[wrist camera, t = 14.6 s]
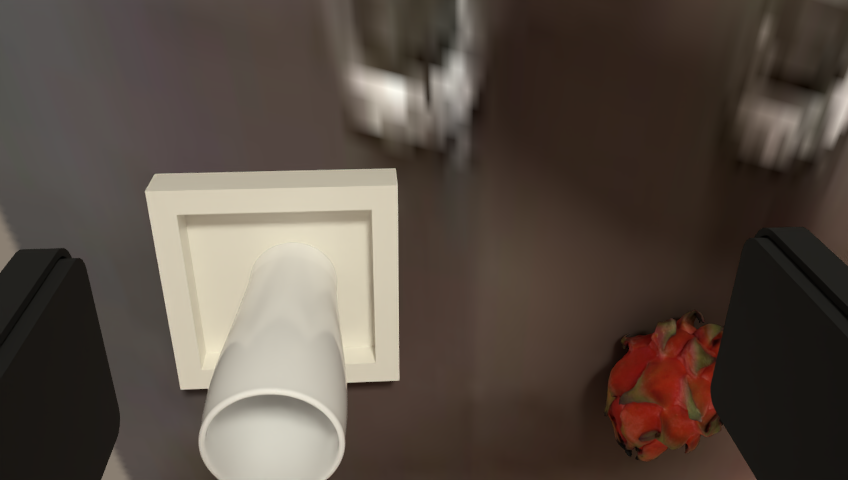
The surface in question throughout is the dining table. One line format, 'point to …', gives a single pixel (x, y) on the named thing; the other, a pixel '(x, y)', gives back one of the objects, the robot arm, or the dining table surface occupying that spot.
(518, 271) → the dining table surface
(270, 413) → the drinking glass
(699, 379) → the dragon fruit
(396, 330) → the tray
